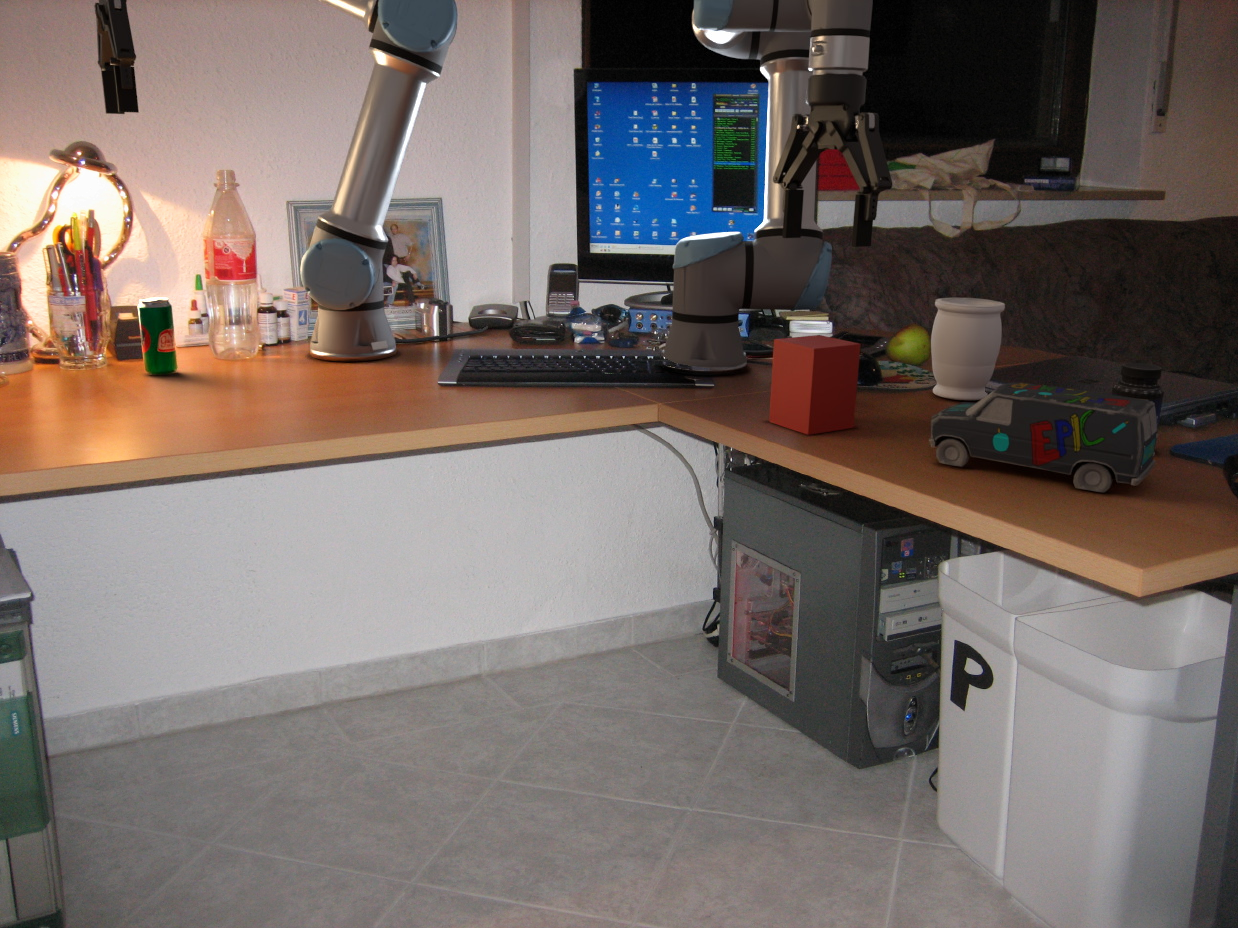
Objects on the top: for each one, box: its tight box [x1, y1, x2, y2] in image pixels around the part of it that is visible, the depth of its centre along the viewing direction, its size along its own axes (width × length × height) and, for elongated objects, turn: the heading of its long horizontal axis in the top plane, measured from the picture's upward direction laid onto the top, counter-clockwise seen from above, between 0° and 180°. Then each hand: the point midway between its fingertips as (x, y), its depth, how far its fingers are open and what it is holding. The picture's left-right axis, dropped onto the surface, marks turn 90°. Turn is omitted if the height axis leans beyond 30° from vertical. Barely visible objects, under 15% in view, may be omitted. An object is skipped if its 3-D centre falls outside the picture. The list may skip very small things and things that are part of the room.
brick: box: [768, 334, 861, 436], centre depth 149 cm, size 8×8×12 cm
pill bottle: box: [1110, 362, 1165, 431], centre depth 139 cm, size 6×6×11 cm
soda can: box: [137, 297, 179, 376], centre depth 174 cm, size 5×5×12 cm
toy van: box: [928, 382, 1159, 493], centre depth 129 cm, size 11×25×10 cm, turn 54°
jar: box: [930, 297, 1006, 401], centre depth 168 cm, size 11×10×15 cm
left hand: (121, 113), depth 166 cm, fingers open, 13 cm apart
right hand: (825, 242), depth 144 cm, fingers open, 13 cm apart
